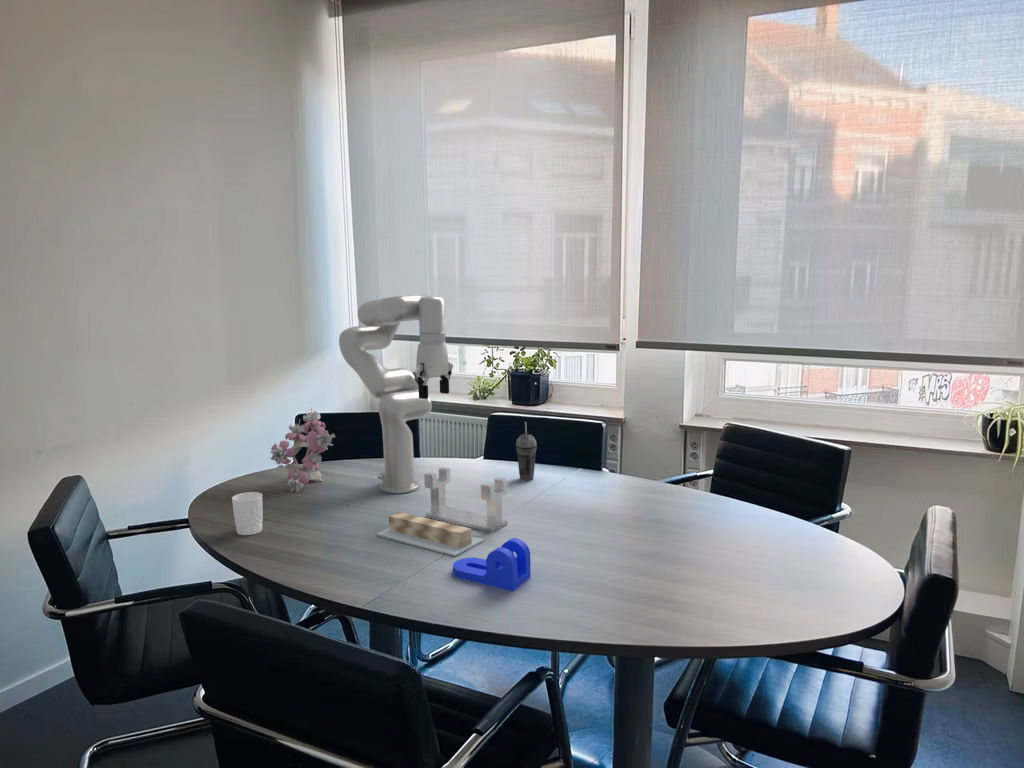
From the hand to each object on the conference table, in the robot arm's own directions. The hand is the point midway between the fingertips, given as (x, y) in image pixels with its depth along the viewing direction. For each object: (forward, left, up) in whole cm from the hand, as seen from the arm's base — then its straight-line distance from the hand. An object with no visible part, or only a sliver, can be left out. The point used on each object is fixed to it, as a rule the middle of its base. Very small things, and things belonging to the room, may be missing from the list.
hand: (434, 395), depth 217 cm
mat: (+17, -24, -33) cm, 44 cm away
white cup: (-29, -46, -34) cm, 64 cm away
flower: (-49, -10, -34) cm, 60 cm away
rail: (+17, -24, -33) cm, 44 cm away
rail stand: (+17, -8, -33) cm, 38 cm away
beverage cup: (+10, +35, -34) cm, 49 cm away
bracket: (+44, -35, -34) cm, 65 cm away
